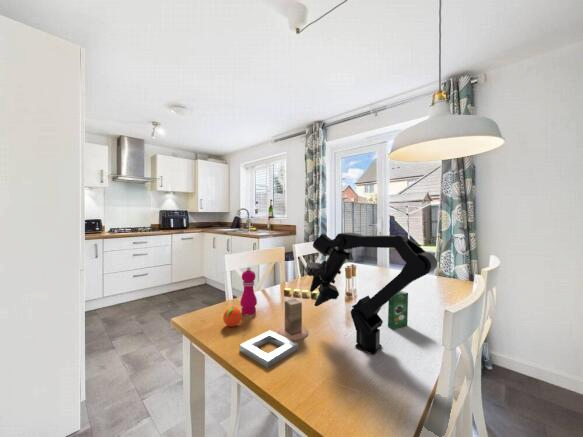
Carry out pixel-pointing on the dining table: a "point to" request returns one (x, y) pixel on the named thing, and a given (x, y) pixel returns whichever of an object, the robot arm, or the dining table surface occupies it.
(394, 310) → the coffee box
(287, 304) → the walnut block
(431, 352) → the dining table surface
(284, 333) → the terracotta coaster
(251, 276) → the pepper mill
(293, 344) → the metal collar stand
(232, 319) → the clementine
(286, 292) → the yellow cube row
